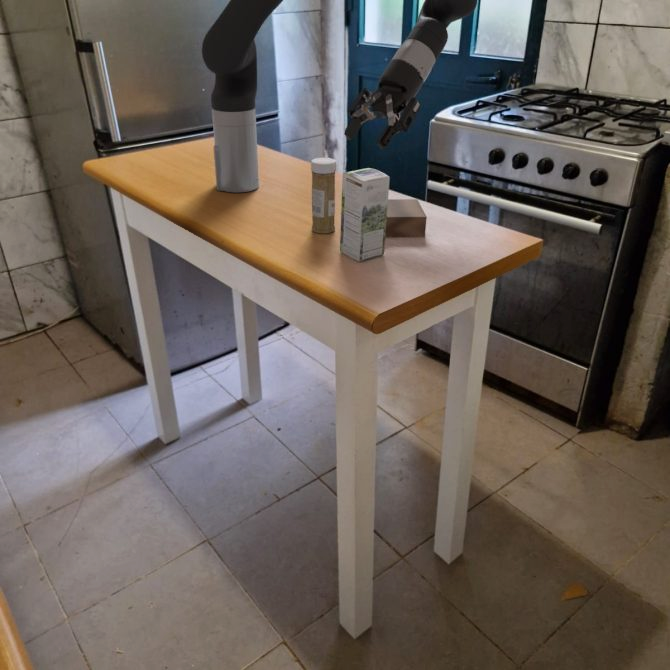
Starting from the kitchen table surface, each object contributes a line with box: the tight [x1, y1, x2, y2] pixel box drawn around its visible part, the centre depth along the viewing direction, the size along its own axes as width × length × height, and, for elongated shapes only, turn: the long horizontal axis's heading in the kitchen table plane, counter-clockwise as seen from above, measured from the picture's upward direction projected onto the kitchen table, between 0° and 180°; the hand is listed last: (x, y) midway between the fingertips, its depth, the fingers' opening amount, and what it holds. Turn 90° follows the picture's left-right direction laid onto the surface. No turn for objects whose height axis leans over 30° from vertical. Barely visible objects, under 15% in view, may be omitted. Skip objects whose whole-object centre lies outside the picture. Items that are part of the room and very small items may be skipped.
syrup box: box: [339, 167, 391, 263], centre depth 107 cm, size 6×6×14 cm
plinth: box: [385, 198, 428, 238], centre depth 121 cm, size 10×10×4 cm
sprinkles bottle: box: [310, 157, 337, 235], centre depth 117 cm, size 5×5×14 cm
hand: (363, 141), depth 119 cm, fingers open, 8 cm apart
